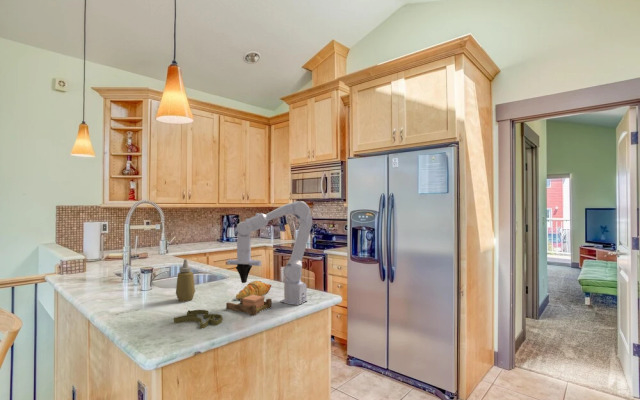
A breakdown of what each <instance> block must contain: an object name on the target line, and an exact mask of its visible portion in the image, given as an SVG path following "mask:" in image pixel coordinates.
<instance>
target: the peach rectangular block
mask: <svg viewBox="0 0 640 400" xmlns="http://www.w3.org/2000/svg"><path fill="white" fill-rule="evenodd" d="M264 301H265V296H264V295H263V296H257V295H251V296H248V297H245V298H243V305H244V306H249V307H250V306H252V305H256V308H258V307H261V306H263V305H264Z"/></svg>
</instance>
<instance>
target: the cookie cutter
mask: <svg viewBox="0 0 640 400" xmlns="http://www.w3.org/2000/svg"><path fill="white" fill-rule="evenodd" d="M198 315H203V319H204V320H206V321H205V322H203V319H202V317H199V316H198ZM222 321H223V315H222V314H219V313H209V310H207V309H206V310H205V309H192V310H187V311H186V314H185V315H180V316H176V317H173V323H174V324H179V323H186V322H196V323H199V329H202V328H203V329H205V328H206V327H207V326H209V324H210V325H213V326H218V325H220V324H221V323H222Z"/></svg>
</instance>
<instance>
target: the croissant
mask: <svg viewBox="0 0 640 400" xmlns="http://www.w3.org/2000/svg"><path fill="white" fill-rule="evenodd" d="M271 288H272V284H270V283H265V282H262V281H261V280H253V281H251V282H248V284H246V285H245V286H244V287H243V289H241V290H240V291H239V292H238V293H237V294H236V295H235V298H236V299H237V300H240V298H245V297H248V296H251V295H257V296H262V295H263V296H265V295H266V294H267V293H268V292H270V290H271Z"/></svg>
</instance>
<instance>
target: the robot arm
mask: <svg viewBox="0 0 640 400" xmlns="http://www.w3.org/2000/svg"><path fill="white" fill-rule="evenodd" d="M287 214H288V215H293V216H294V217H296V219H297V220H298V222H299V223H300V224H299V228H298V231H297V234H296V238H295V242H294V245H293V249H292V253H291V256H290V258H289V260H288V261H287V264H286V265H285V266H284V269H283V275H284V276H285V278H284V280H283V281H284V283H283V285H284V286H283V289H284V290H283V295H284V296H283V297H284V298H283V299H282V300H280V301H279V302H280V303H282V302H284V303H285V304H288V303H289V304H290V305H294V304H295V305H294V306H300V305H301V303H302V304H304V303H306V302H308V298H307V297H308V295H307V294H308V292H307V289H308V288H307V284H306V283H305V282H303V281H302V280H301V278H302V275H303V273H302V268H303V257H304V254H305V251H306V247H307V245H308V240H309V236H310V233H311V229H312V226H313V218H312V213H311V208H310V207H309V205H308V203H306V202H305V201H304V200H303V201H302V200H300V201H298V200H297V201H296V200H295V201H292V202H290V203H286V204H284V205H281V206H279V207H277V208H276V209H274V210H272V211H270V212H267V213H266V214H265V213H262V212H260V213H259V212H257V213H255V215H254V216H252V217H250V218H245V220H244V221H241V222H239V223H237V225H236V228H235V229H236V232H237V234H236V237H237V238H236V259H227V261H226V263H227V265H228V266H230V265H232V266H236V267H235V268H236V271H237V273H238V276H239V277H240V280H241V281H240V282H241V283H242V284H246V283H247V282H248V278H249V273H250V272H251V269H252V267H253V266H254V267H261V265H262V260H257V259H256V260H255V259H252V239H251V233H252V232H255V231H258V230H259V229H262V228H264V227H266V226H268V223H269V222H270V221H271V220H274V219H277V218H279V217H281V216H283V215H287ZM305 301H306V302H305ZM303 302H304V303H303ZM284 303H283V304H284ZM299 304H300V305H299Z"/></svg>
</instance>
